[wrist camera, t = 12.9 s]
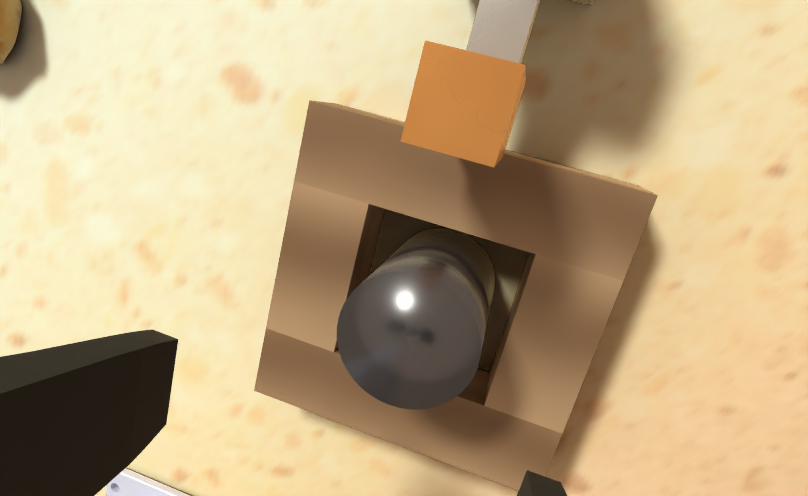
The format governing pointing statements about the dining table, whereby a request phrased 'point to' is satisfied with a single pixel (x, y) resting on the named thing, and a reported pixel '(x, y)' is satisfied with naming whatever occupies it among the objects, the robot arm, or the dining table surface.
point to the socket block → (473, 214)
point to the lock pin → (473, 86)
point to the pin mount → (583, 1)
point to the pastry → (9, 25)
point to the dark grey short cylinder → (419, 321)
